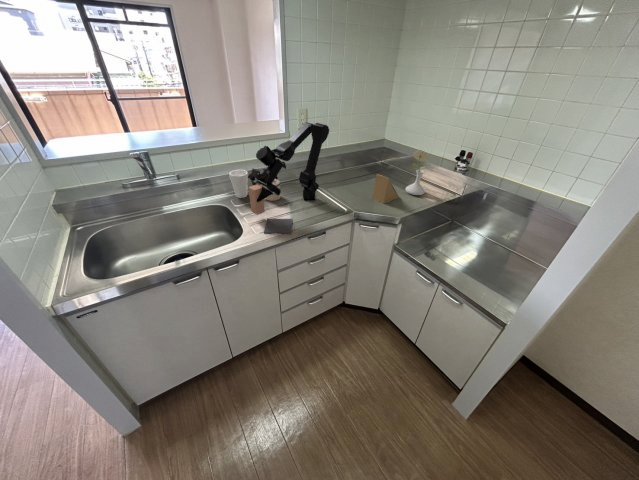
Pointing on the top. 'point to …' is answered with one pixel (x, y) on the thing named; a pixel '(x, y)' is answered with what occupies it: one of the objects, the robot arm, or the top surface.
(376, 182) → the sandwich container
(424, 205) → the top surface
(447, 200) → the top surface
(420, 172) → the flower in vase
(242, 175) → the foam cup
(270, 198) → the teacup with lid
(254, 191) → the terracotta block
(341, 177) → the top surface
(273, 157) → the robot arm
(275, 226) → the black mat
